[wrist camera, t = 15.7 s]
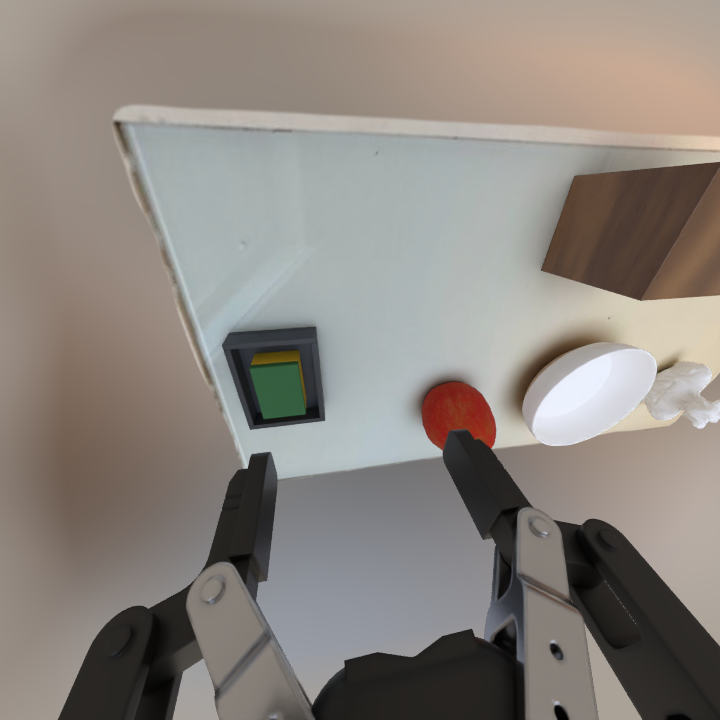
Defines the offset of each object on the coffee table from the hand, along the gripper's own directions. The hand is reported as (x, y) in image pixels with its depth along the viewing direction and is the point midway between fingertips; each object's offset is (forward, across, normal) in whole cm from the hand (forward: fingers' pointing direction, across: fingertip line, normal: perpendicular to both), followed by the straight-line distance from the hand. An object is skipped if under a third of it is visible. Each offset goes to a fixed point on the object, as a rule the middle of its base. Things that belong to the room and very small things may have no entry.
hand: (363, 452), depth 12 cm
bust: (+22, -61, +19) cm, 67 cm away
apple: (+22, -18, +19) cm, 34 cm away
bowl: (+22, -39, +17) cm, 48 cm away
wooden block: (+23, -33, -7) cm, 41 cm away
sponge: (+22, +7, +11) cm, 26 cm away
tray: (+22, +7, +11) cm, 26 cm away
